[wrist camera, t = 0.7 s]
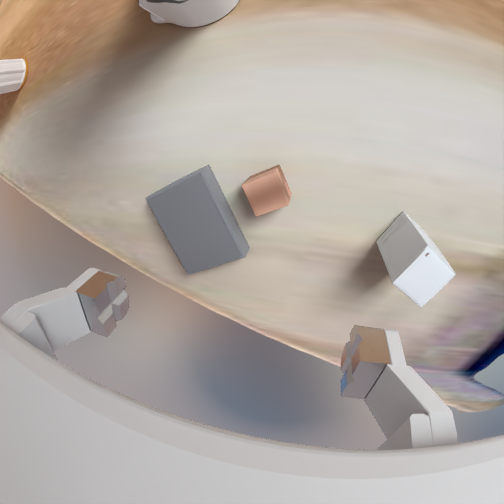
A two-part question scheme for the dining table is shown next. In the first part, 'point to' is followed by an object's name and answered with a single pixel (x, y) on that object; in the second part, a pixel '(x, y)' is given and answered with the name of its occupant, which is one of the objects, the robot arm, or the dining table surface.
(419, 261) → the supplement box
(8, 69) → the cup
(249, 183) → the terracotta block
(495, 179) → the dining table surface
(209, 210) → the plinth
